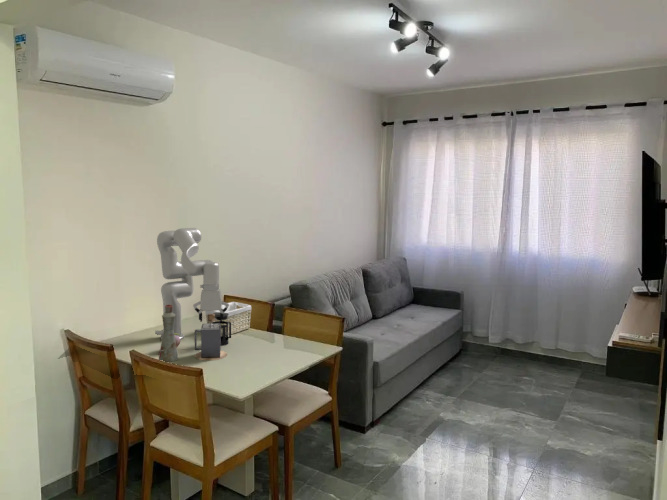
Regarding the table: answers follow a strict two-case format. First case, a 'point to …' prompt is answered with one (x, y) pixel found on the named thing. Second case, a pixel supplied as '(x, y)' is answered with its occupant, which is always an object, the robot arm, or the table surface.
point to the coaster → (222, 355)
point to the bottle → (168, 337)
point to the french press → (224, 328)
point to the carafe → (209, 340)
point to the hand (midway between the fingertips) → (211, 321)
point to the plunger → (211, 318)
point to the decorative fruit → (177, 339)
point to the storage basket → (235, 316)
